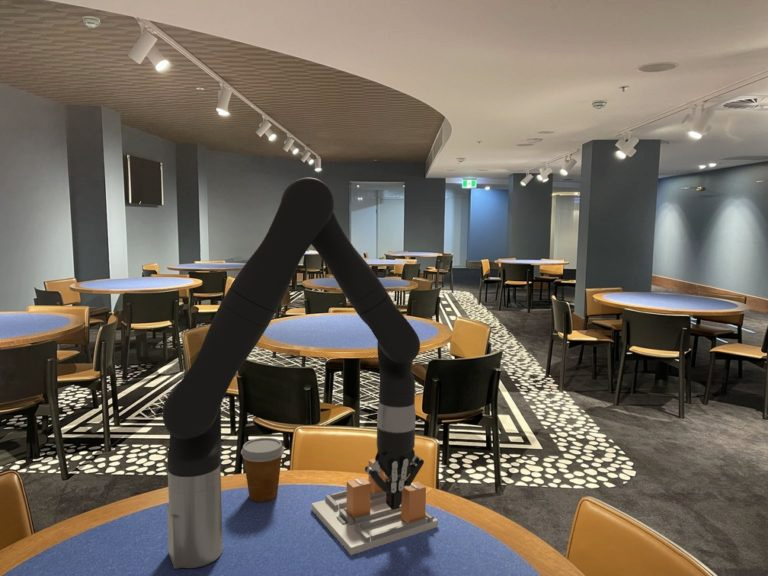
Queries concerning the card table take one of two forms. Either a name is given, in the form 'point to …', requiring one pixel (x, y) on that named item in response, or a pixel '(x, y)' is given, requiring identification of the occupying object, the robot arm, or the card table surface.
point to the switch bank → (367, 522)
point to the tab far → (373, 485)
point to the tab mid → (358, 497)
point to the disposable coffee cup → (262, 467)
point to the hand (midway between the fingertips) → (393, 507)
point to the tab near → (413, 502)
